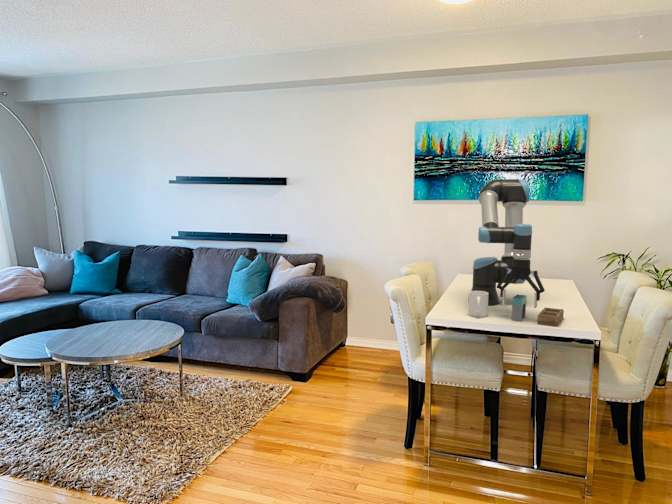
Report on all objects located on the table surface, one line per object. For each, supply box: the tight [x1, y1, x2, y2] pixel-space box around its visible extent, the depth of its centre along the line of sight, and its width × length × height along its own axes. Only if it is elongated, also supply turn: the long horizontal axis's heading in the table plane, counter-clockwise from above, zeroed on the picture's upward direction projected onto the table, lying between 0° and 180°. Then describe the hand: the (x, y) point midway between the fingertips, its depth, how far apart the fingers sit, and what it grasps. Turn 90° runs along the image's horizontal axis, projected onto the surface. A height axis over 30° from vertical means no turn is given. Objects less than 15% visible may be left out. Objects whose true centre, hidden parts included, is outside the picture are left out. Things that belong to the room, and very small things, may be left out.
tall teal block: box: [511, 294, 527, 322], centre depth 232 cm, size 10×4×10 cm, turn 149°
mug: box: [468, 290, 489, 318], centre depth 237 cm, size 9×12×11 cm
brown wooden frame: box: [536, 307, 565, 327], centre depth 229 cm, size 18×8×4 cm, turn 149°
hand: (519, 305), depth 232 cm, fingers open, 13 cm apart
